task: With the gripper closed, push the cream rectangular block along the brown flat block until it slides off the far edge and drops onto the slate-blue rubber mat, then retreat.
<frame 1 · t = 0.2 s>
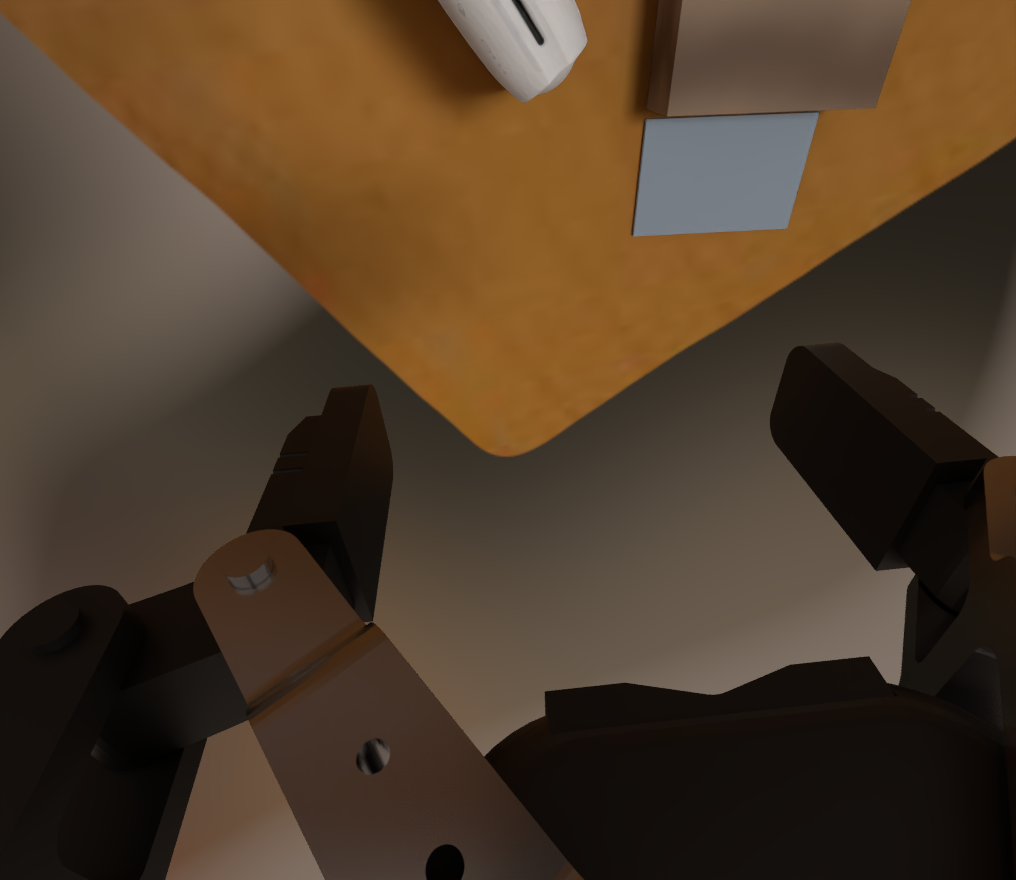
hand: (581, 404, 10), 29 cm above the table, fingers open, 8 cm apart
mat: (719, 176, 35), on the table
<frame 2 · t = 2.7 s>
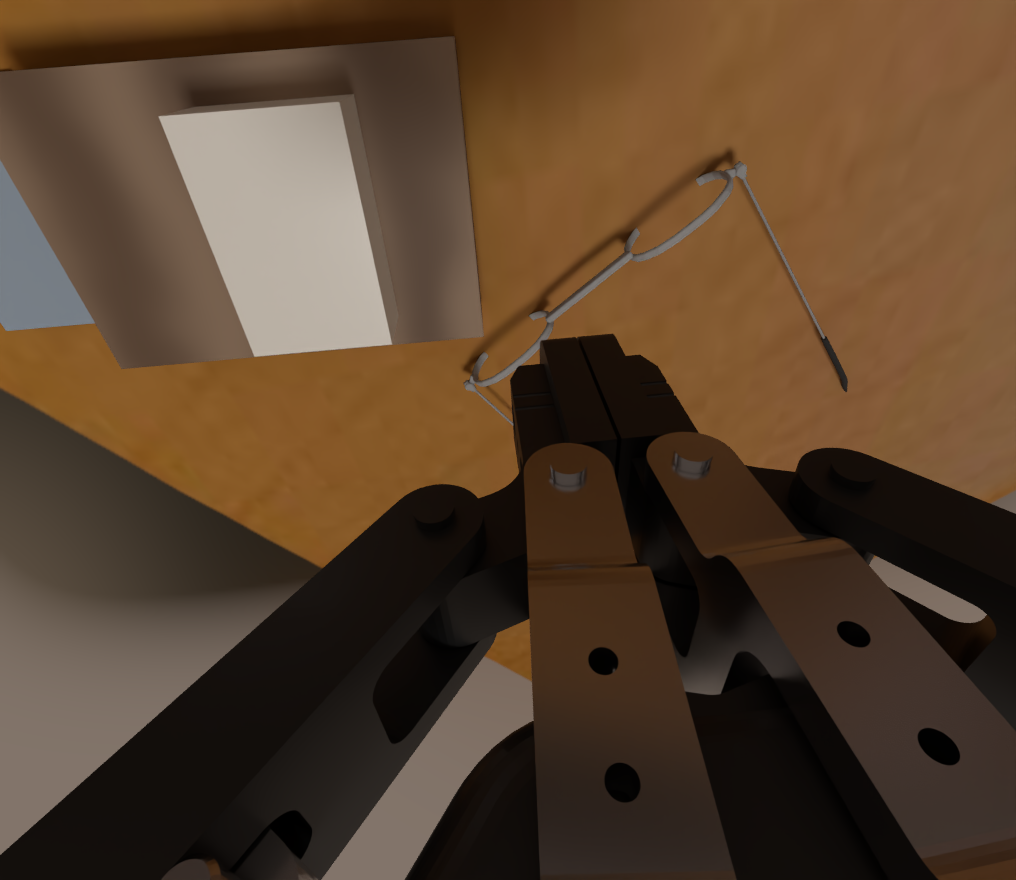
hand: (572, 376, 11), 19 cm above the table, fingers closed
cream rectangular block: (300, 234, 22), point 5 cm above the table, touching brown flat block
eyeglasses: (660, 373, 34), on the table
mat: (11, 216, 25), on the table
brown flat block: (286, 204, 26), on the table
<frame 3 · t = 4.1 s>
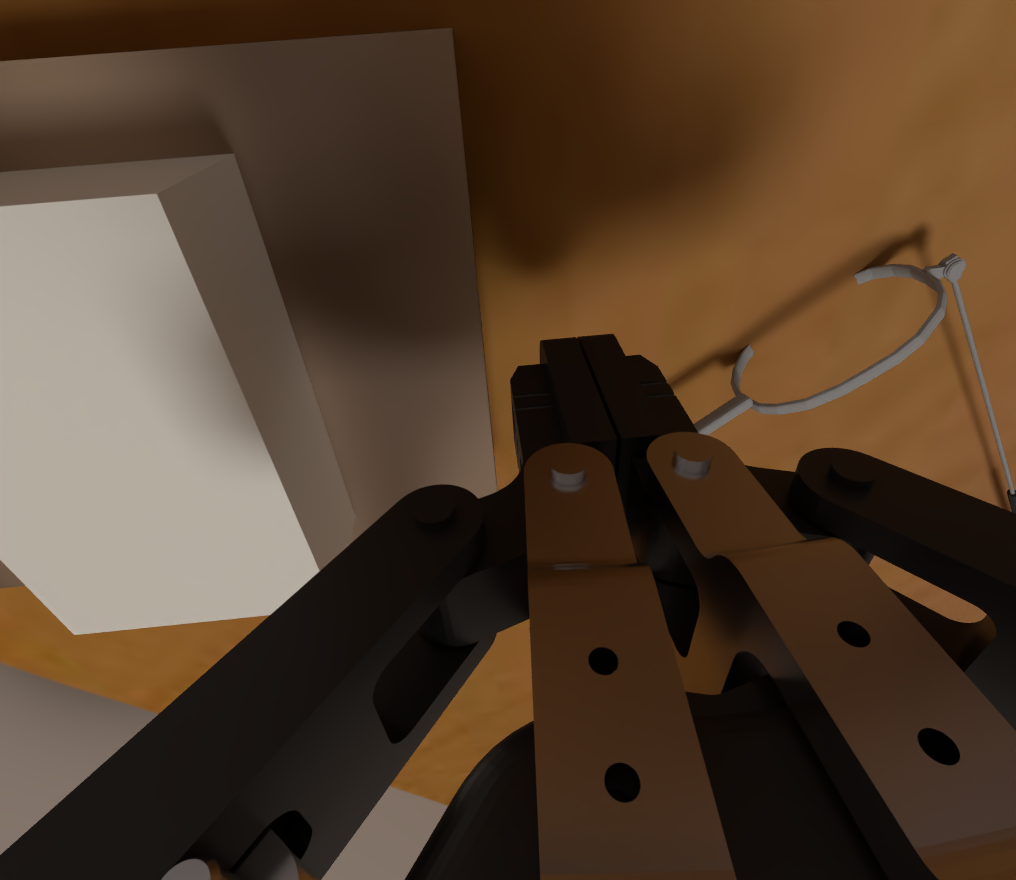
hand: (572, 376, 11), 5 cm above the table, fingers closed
cream rectangular block: (143, 427, 11), point 5 cm above the table, touching brown flat block
eyeglasses: (751, 525, 23), on the table
brown flat block: (162, 320, 15), on the table
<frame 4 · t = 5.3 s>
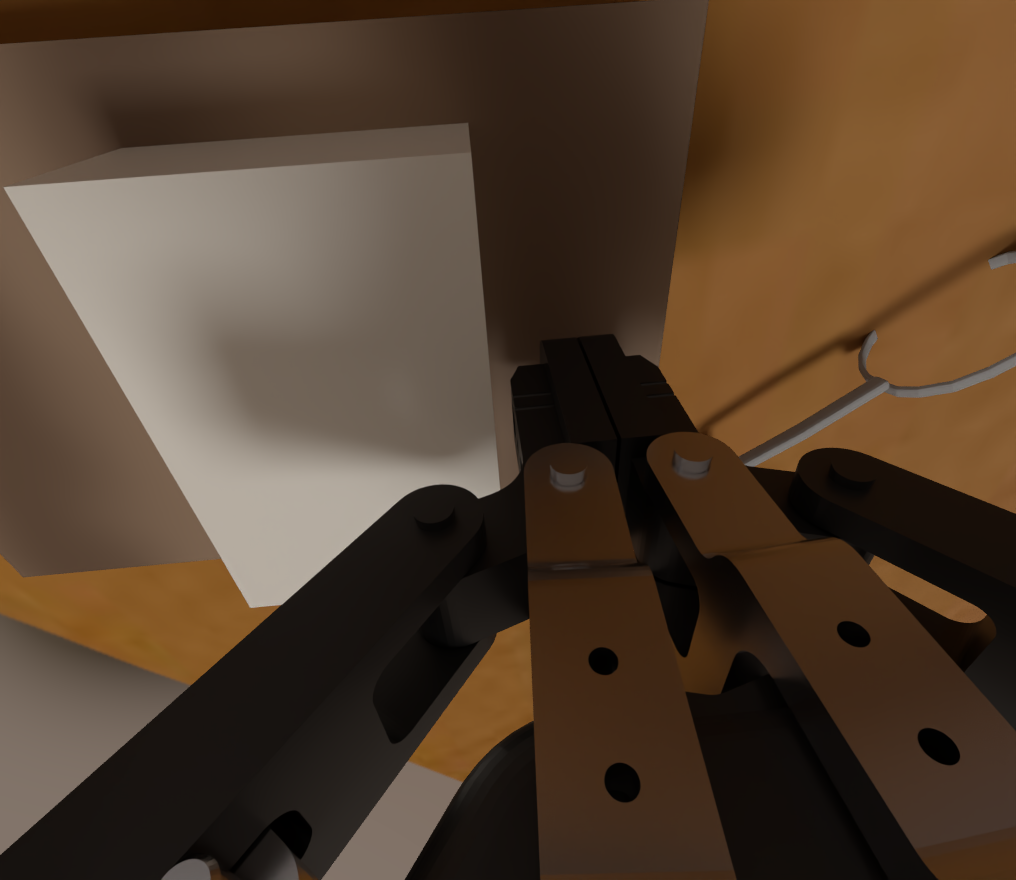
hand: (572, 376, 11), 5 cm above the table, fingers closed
cream rectangular block: (344, 398, 11), point 5 cm above the table, touching brown flat block, gripper
eyeglasses: (841, 514, 24), on the table
brown flat block: (307, 300, 15), on the table
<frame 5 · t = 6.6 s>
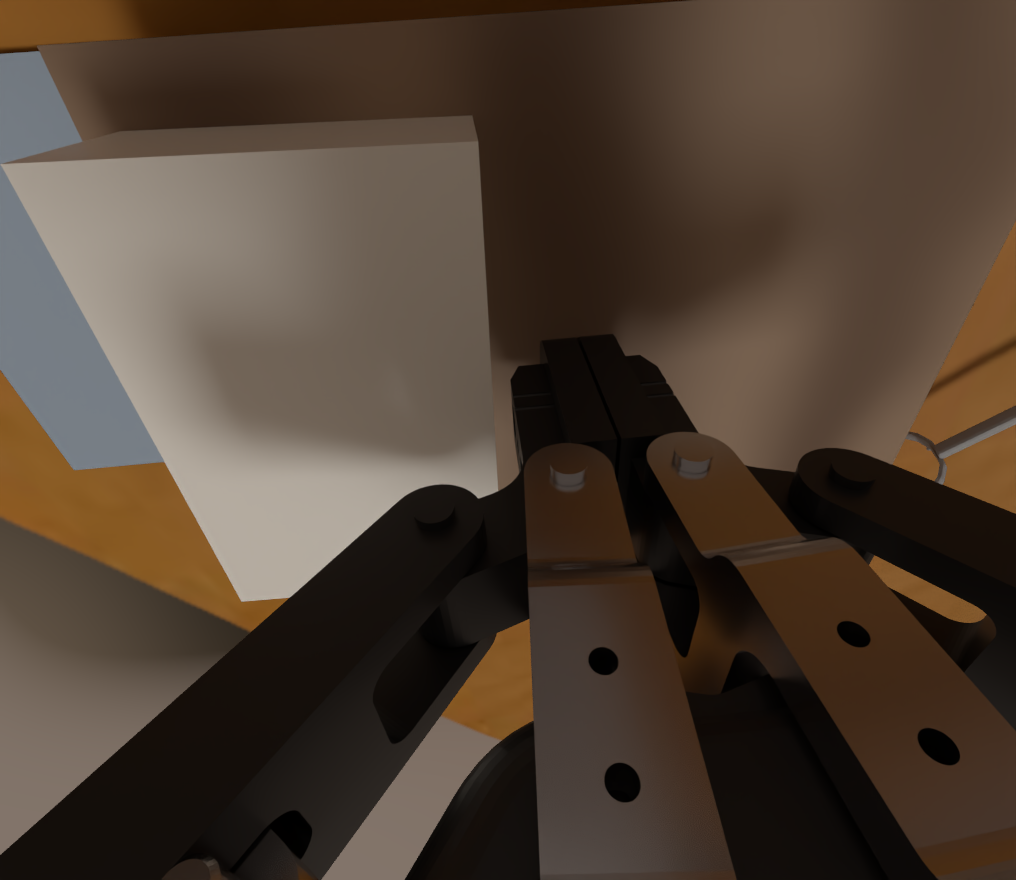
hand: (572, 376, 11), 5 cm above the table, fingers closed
cream rectangular block: (341, 390, 11), point 6 cm above the table, touching brown flat block
eyeglasses: (999, 497, 24), on the table
mat: (98, 301, 15), on the table
brown flat block: (563, 279, 15), on the table
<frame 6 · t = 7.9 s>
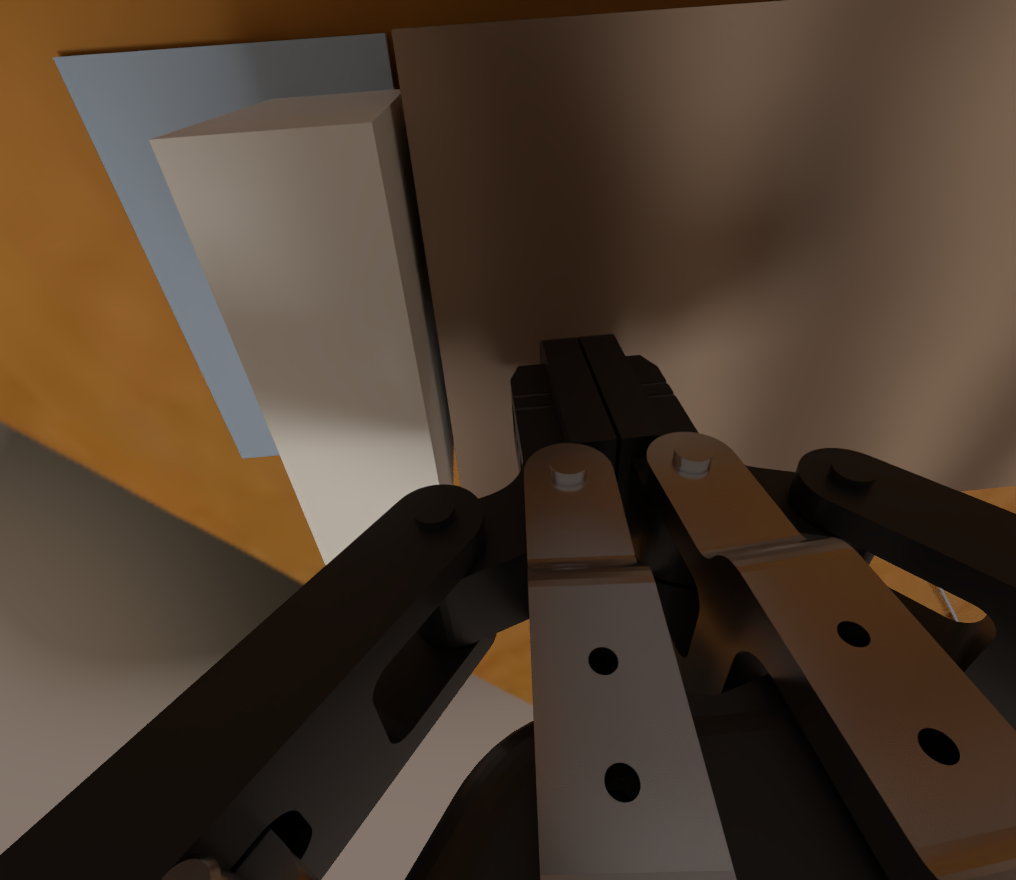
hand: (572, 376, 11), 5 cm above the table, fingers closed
cream rectangular block: (365, 335, 12), point 3 cm above the table, tilted 90°, touching mat
mat: (300, 289, 15), on the table
brown flat block: (751, 267, 15), on the table
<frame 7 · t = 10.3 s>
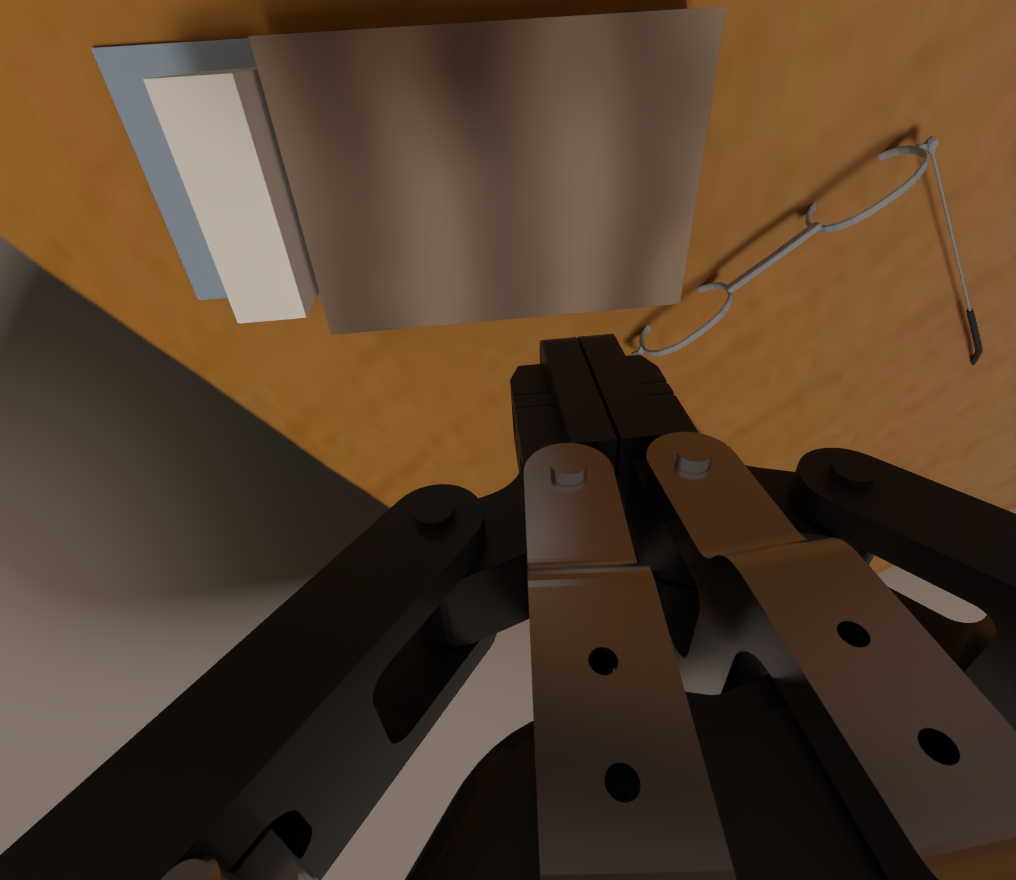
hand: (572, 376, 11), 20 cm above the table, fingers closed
cream rectangular block: (256, 196, 23), point 3 cm above the table, tilted 90°, touching mat
eyeglasses: (802, 347, 36), on the table
mat: (228, 183, 26), on the table
brown flat block: (494, 174, 27), on the table
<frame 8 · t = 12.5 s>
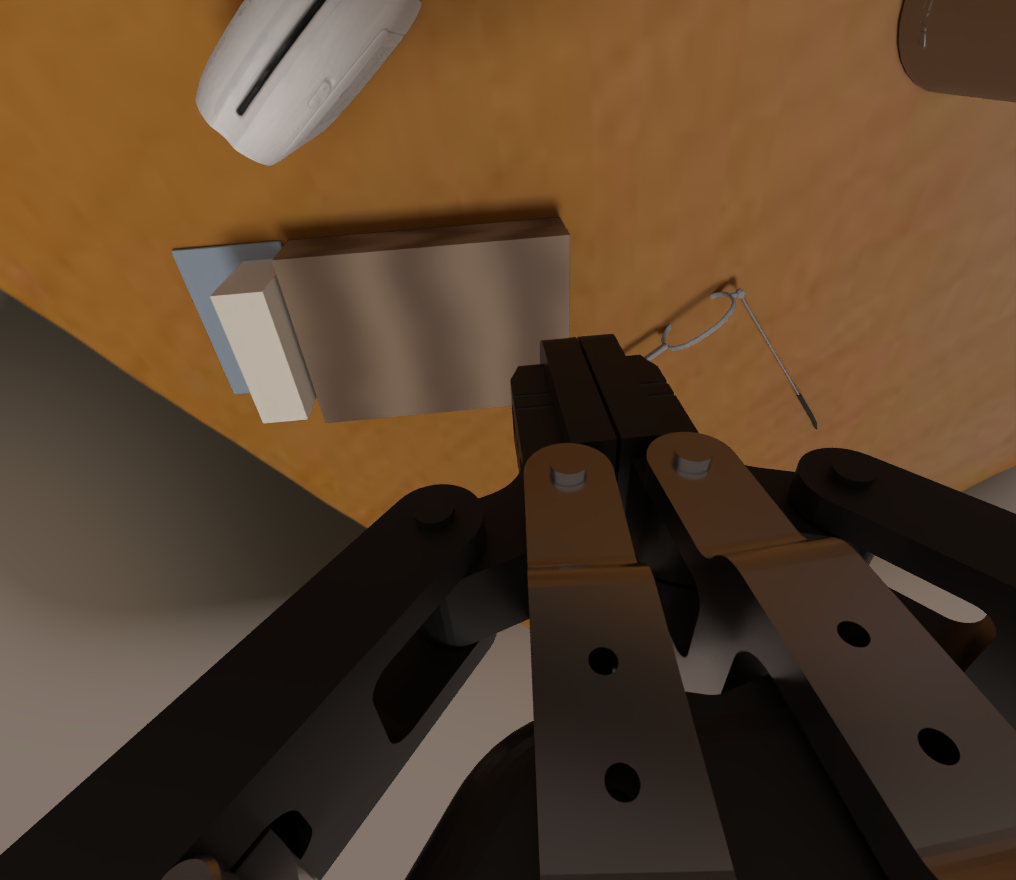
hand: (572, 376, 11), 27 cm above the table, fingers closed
cream rectangular block: (275, 341, 35), point 3 cm above the table, tilted 90°, touching mat
eyeglasses: (681, 417, 47), on the table
mat: (256, 322, 38), on the table
photo printer: (342, 43, 29), on the table
brown flat block: (437, 313, 39), on the table
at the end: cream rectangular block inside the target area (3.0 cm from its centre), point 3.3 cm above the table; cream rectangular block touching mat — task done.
